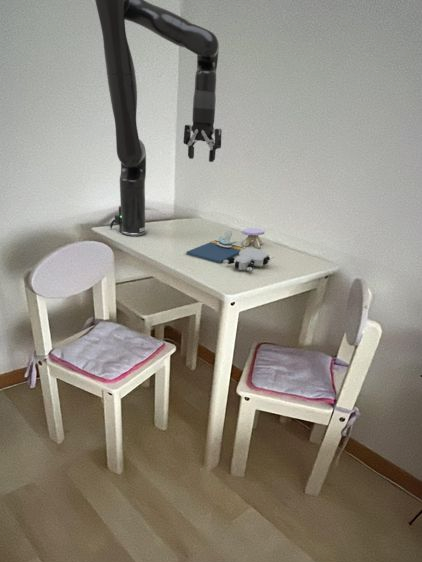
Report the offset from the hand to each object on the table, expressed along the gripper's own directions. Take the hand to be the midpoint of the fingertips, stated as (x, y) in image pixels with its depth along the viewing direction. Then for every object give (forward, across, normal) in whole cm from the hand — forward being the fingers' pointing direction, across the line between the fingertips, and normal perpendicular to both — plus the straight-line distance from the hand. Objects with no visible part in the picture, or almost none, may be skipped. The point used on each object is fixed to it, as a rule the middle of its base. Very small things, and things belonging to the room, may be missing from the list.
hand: (201, 160), depth 153 cm
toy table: (+28, -20, -9) cm, 36 cm away
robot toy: (+28, -31, +15) cm, 44 cm away
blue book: (+28, -15, +9) cm, 33 cm away
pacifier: (+27, -15, +3) cm, 31 cm away
